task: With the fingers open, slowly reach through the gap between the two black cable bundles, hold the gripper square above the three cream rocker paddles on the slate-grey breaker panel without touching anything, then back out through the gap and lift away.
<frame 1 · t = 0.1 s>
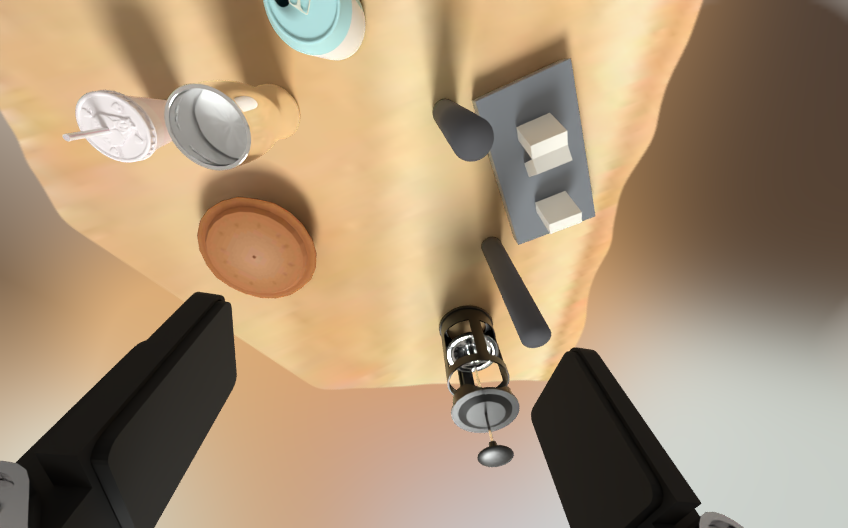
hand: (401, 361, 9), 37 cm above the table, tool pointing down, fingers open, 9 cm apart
cable bundle 1: (491, 245, 50), on the table
paddle 1: (557, 212, 42), point 5 cm above the table, hinge at 20.0°
french press: (465, 328, 58), on the table
pie: (268, 240, 48), on the table
breaker panel: (534, 159, 43), on the table
cable bundle 2: (444, 112, 40), on the table
middle paddle: (546, 161, 39), point 5 cm above the table, hinge at -20.0°, touching paddle 2
paddle 2: (541, 135, 37), point 5 cm above the table, hinge at 20.0°, touching middle paddle
smoothie: (177, 117, 39), on the table
beer glass: (275, 112, 39), on the table
can: (333, 22, 35), on the table
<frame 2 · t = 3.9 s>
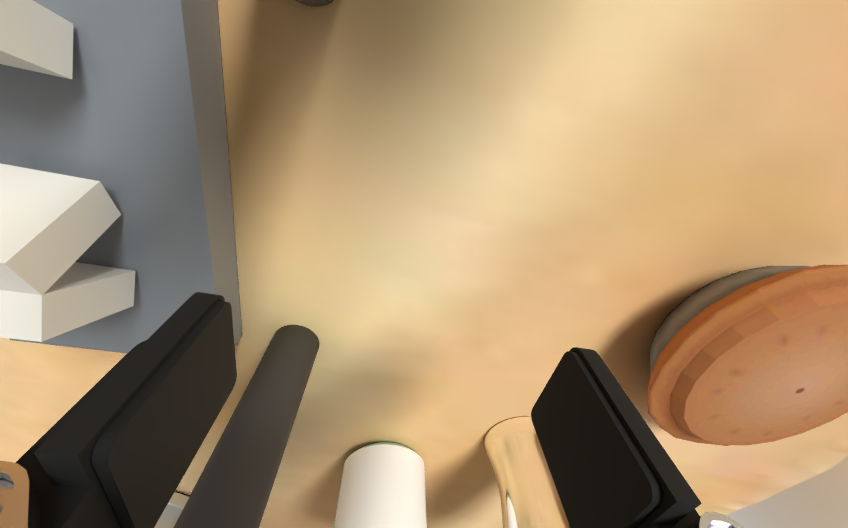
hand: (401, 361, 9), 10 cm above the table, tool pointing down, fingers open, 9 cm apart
pie: (725, 331, 24), on the table
breaker panel: (113, 168, 16), on the table
cable bundle 2: (296, 342, 22), on the table
middle paddle: (12, 225, 12), point 5 cm above the table, hinge at -20.0°, touching paddle 2
paddle 2: (41, 294, 14), point 5 cm above the table, hinge at 20.0°, touching middle paddle
beer glass: (517, 435, 29), on the table
can: (384, 457, 30), on the table
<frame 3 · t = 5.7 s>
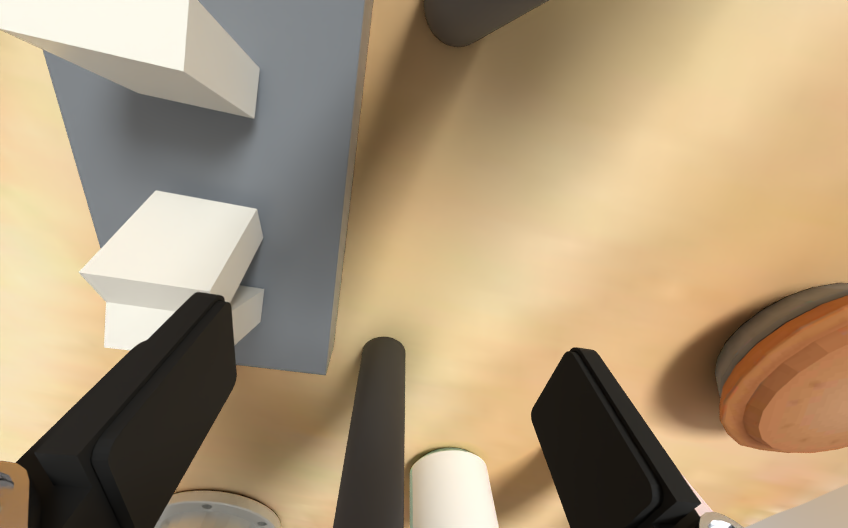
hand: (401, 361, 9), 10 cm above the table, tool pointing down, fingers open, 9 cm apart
cable bundle 1: (459, 3, 13), on the table
paddle 1: (158, 52, 10), point 5 cm above the table, hinge at 20.0°
pie: (789, 342, 25), on the table
breaker panel: (242, 191, 17), on the table
cable bundle 2: (384, 353, 23), on the table
middle paddle: (187, 251, 13), point 5 cm above the table, hinge at -20.0°, touching paddle 2
paddle 2: (197, 313, 14), point 5 cm above the table, hinge at 20.0°, touching middle paddle
smoothie: (658, 474, 33), on the table
can: (447, 462, 30), on the table
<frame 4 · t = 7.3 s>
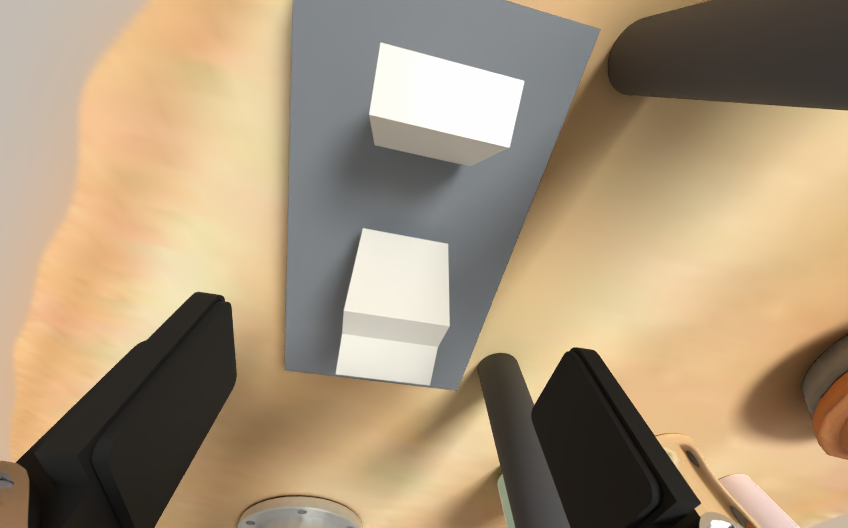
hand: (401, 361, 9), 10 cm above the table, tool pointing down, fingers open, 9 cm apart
cable bundle 1: (641, 57, 15), on the table
paddle 1: (435, 118, 11), point 5 cm above the table, hinge at 20.0°
breaker panel: (404, 222, 18), on the table
cable bundle 2: (497, 368, 24), on the table
middle paddle: (399, 285, 14), point 5 cm above the table, hinge at -20.0°, touching paddle 2
paddle 2: (387, 339, 16), point 5 cm above the table, hinge at 20.0°, touching middle paddle
smoothie: (728, 481, 34), on the table
beer glass: (658, 450, 31), on the table
can: (531, 470, 32), on the table
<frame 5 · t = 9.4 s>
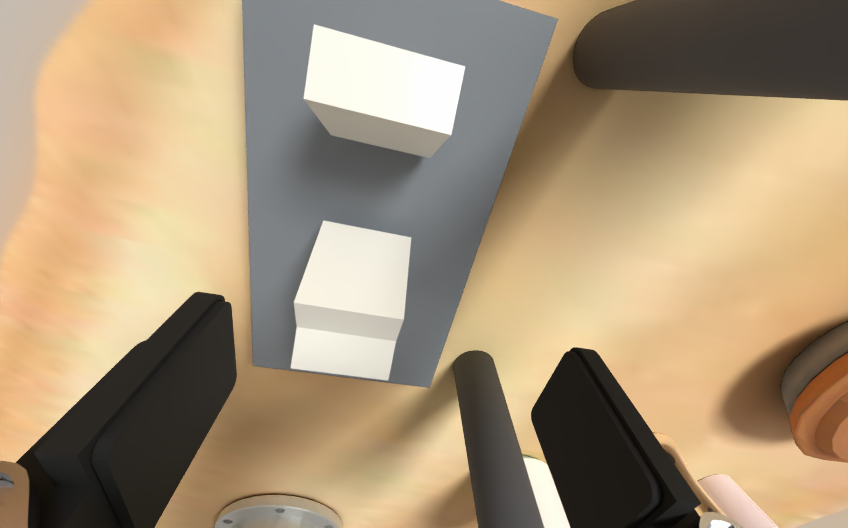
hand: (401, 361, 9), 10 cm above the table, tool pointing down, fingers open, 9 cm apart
cable bundle 1: (607, 50, 15), on the table
paddle 1: (385, 107, 11), point 5 cm above the table, hinge at 20.0°
breaker panel: (372, 216, 18), on the table
cable bundle 2: (473, 365, 24), on the table
middle paddle: (358, 278, 14), point 5 cm above the table, hinge at -20.0°, touching paddle 2
paddle 2: (349, 333, 15), point 5 cm above the table, hinge at 20.0°, touching middle paddle
smoothie: (709, 481, 34), on the table
beer glass: (638, 449, 31), on the table
can: (511, 469, 32), on the table
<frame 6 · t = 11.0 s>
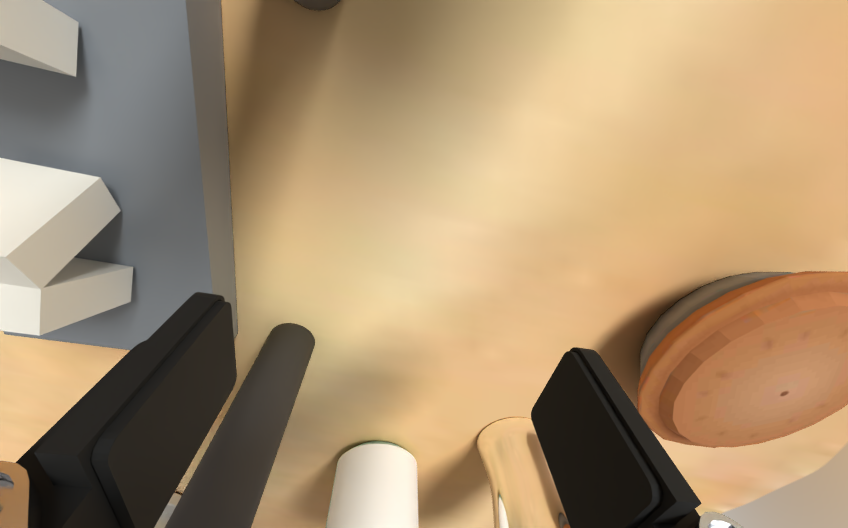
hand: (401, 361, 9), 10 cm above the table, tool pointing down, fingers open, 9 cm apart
pie: (714, 335, 24), on the table
breaker panel: (112, 164, 16), on the table
cable bundle 2: (292, 340, 22), on the table
middle paddle: (12, 219, 12), point 5 cm above the table, hinge at -20.0°, touching paddle 2
paddle 2: (39, 288, 14), point 5 cm above the table, hinge at 20.0°, touching middle paddle
beer glass: (510, 436, 29), on the table
can: (378, 457, 30), on the table
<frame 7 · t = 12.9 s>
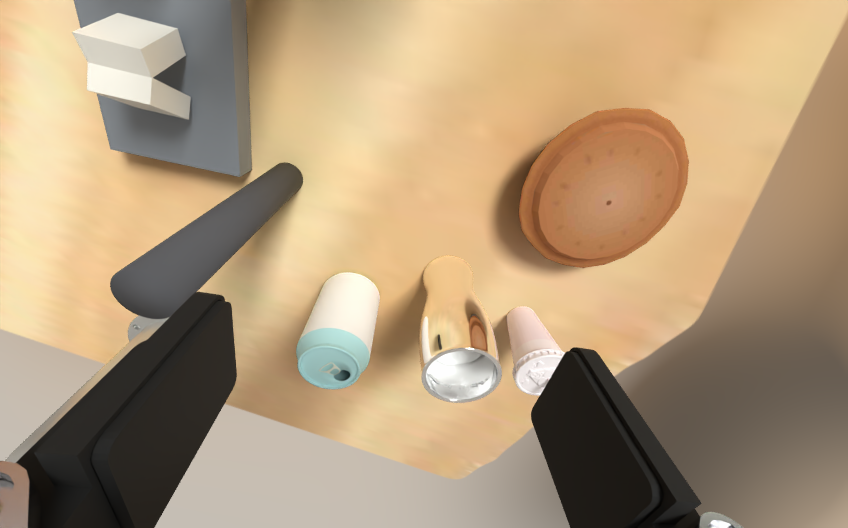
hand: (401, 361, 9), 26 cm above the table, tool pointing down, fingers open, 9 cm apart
pie: (584, 185, 34), on the table
breaker panel: (178, 35, 27), on the table
cable bundle 2: (287, 177, 33), on the table
middle paddle: (134, 44, 23), point 5 cm above the table, hinge at -20.0°, touching paddle 2
paddle 2: (143, 93, 25), point 5 cm above the table, hinge at 20.0°, touching middle paddle
smoothie: (520, 316, 43), on the table
beer glass: (447, 275, 40), on the table
can: (352, 292, 41), on the table
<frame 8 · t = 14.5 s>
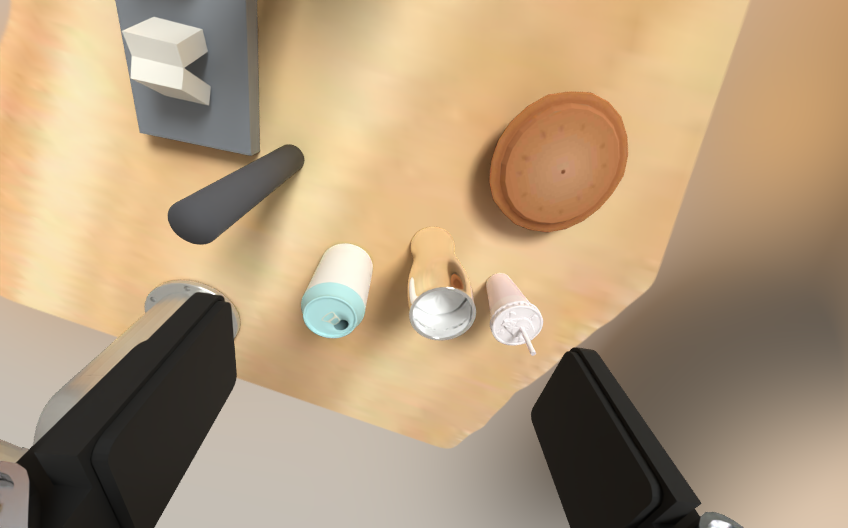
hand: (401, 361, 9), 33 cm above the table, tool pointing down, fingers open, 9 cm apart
pie: (545, 161, 40), on the table
breaker panel: (199, 36, 32), on the table
cable bundle 2: (291, 157, 38), on the table
middle paddle: (168, 42, 28), point 5 cm above the table, hinge at -20.0°, touching paddle 2
paddle 2: (173, 82, 30), point 5 cm above the table, hinge at 20.0°, touching middle paddle
smoothie: (498, 282, 48), on the table
beer glass: (432, 245, 45), on the table
can: (348, 263, 46), on the table
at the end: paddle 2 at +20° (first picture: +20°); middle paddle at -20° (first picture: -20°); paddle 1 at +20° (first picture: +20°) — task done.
